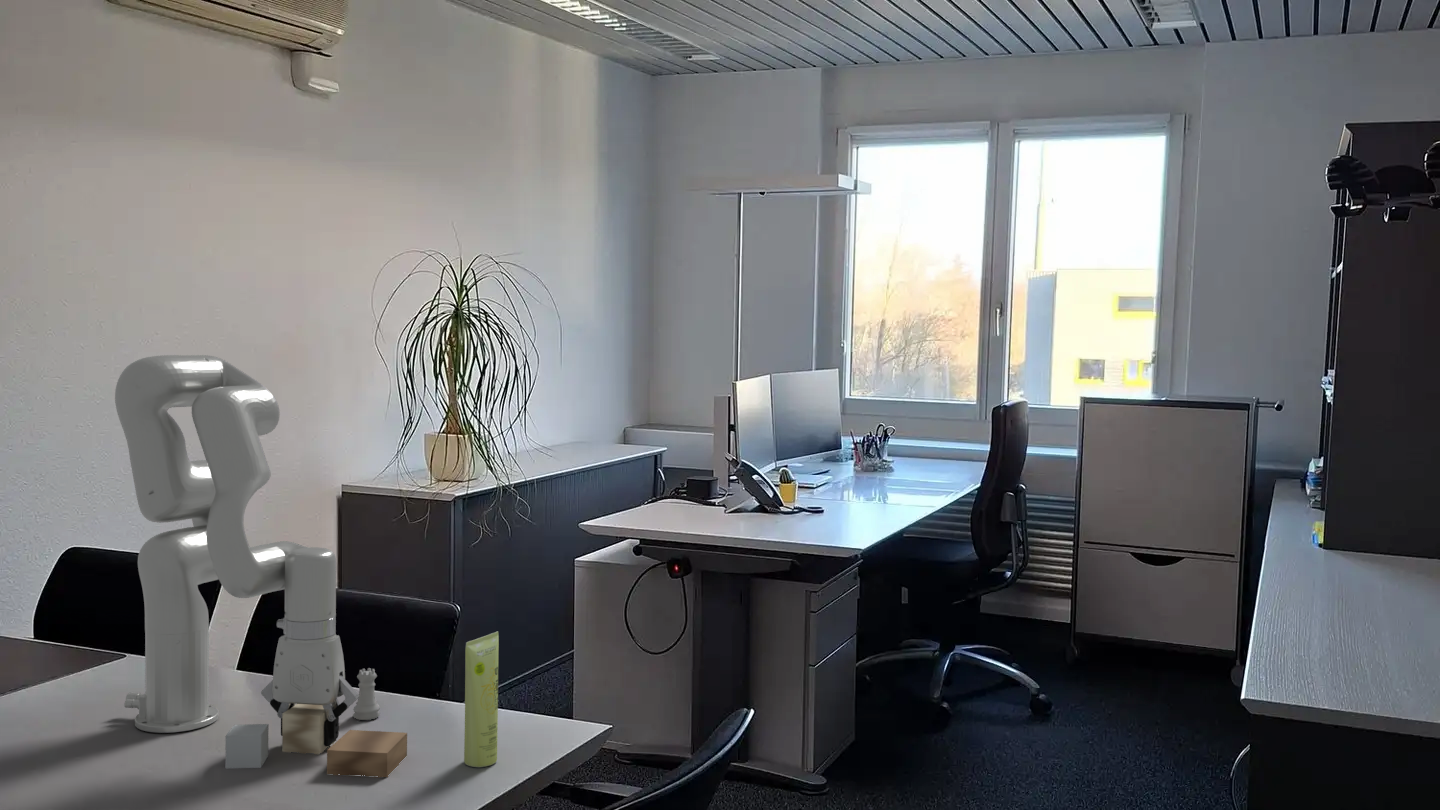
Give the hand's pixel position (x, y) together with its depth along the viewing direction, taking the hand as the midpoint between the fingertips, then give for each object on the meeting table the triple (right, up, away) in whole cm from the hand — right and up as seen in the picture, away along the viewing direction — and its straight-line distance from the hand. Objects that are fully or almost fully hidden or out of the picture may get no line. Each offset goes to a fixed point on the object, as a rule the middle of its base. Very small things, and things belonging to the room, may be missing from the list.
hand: (309, 741), depth 188 cm
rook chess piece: (+5, 0, +15) cm, 15 cm away
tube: (+27, -2, -5) cm, 28 cm away
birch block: (0, -1, 0) cm, 1 cm away
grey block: (-7, -1, -7) cm, 10 cm away
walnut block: (+11, -2, -7) cm, 13 cm away
